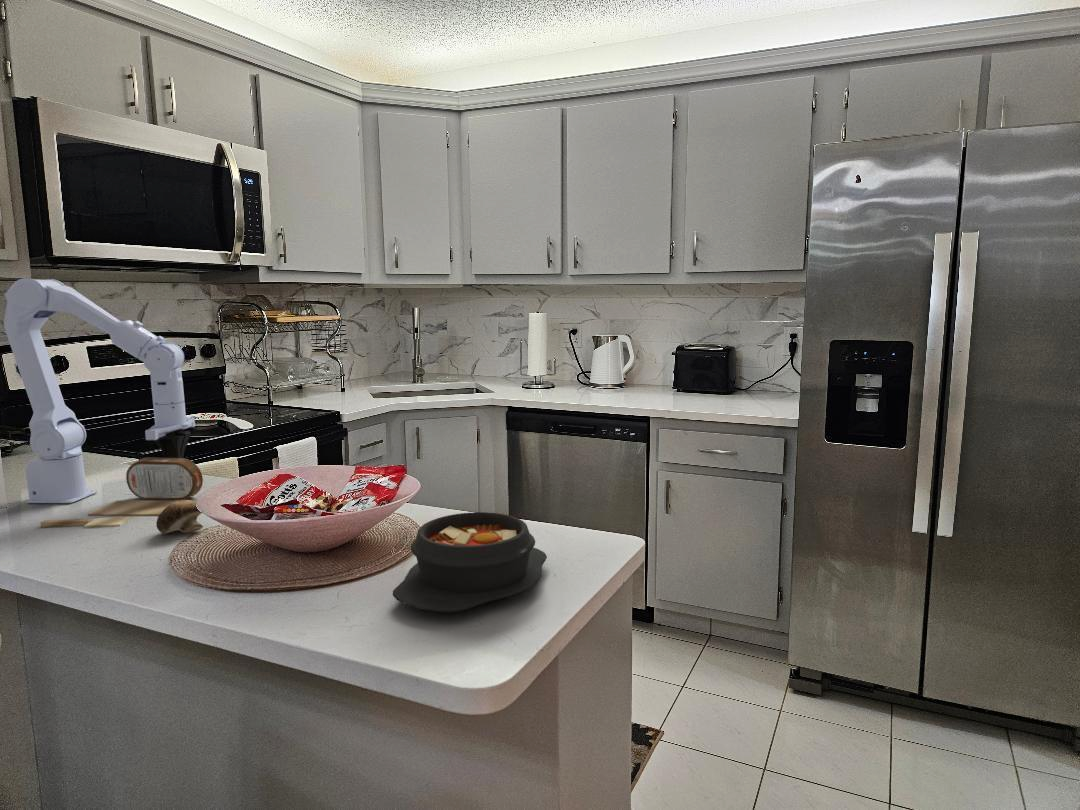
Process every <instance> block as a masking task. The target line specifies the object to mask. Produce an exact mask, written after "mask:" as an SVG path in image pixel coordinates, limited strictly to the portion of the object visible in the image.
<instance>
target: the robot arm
mask: <svg viewBox="0 0 1080 810" xmlns="http://www.w3.org/2000/svg"><path fill="white" fill-rule="evenodd" d="M4 296H5V299H6V301H7V302H6V303H7V304H6V309H5V312H4V314H5V315H4V320H3V327H4V330H5V333H6V336H7V339H8V342H9V346H10V348H11V351H12V354H13V356H14V359H15V362H16V366H17V368H18V371H19V375H20V377H21V380H22V383H23V385H24V389H25V391H26V394H27V397H28V399H29V400H28V401H29V402H30V406H31V409H32V412H33V413H32V417H31V419H30V421H29V423H28V427H29V430H30V438H29V445H30V448H31V450H32V451H33V453H35V454H36V456H34V457H31V459H30V460H29V461H28V462H27V465H26V469H25V476H26V484H27V485H26V486H27V490H28V491H27V492H28V498H29V499H28V500H26V501H25V503H26V504H72V503H74V502H77V501H79V500H82V499H84V498H87V497H89V496H92V495H94V494H97V493H98V490H97V489H96V490H95V489H93V490H92V489H88V490H87V481H86V476H85V475H86V474H85V466H84V458H83V457H84V456H83V449H82V446H83V444H85V442H86V439H87V431H86V428H85V426H84V425H83V424H82V423H81V422H80V421H79V420H78V418H77V417H76V414H75V412H74V411H73V410H72V409H70V408H69V407H68V406H67V405H66V404H65V401H64V398H63V395H62V392H61V388H60V386H59V383H58V380H57V377H56V373H55V371H54V368H53V365H52V362H51V358H50V356H49V353H48V350H47V348H46V344H45V341H44V338H43V335H42V331H41V329H42V327H43V326H44V325H45V324H46V322H47V321H48V320H49V319H50V318H51V317H52V316H53V315H55V314H56V313H58V312H59V313H60V312H61V313H70V314H72V315H74V316H76V317H77V318H79V319H81V320H83V321H85V322H86V323H89V324H90V325H92V326H94V327H96V328H97V329H100V330H101V331H103V332H104V333H107V334H108V335H109V337H110V340H111V343H112V344H113V345H114V346H116V347H117V348H119V349H121V350H123V351H124V352H126V353H128V354H129V355H131V356H133V357H134V358H136V359H138V360H139V361H141V362H142V363H143V365H144V367H145V368H146V369H147V371H149V372H150V373H149V374H150V383H151V384H150V385H151V395H152V405H153V415H154V416H153V417H154V425H152V426H151V427H150V428H148V429H145V431H144V432H145V434H144V435H145V441H154V442H155V444H156V445H157V446H158V447H159V450H161V452H162V455H163V458H184V456H185V455H184V454H185V449H186V447H187V444H188V442H189V439H190V437H191V431H189V430H186V429H189V428H194V427H196V421H195V417H187V415H186V403H185V393H184V392H185V391H184V381H183V377H182V376H183V375H182V374H183V373H182V366H183V364H184V362H185V353H184V351H183V350H182V348H181V347H180V346H178V344H177V343H176V342H174V341H173V342H171V341H165V337H163V336H161V335H158V336H157V335H156V334H154V333H152V332H150V330H147V329H146V328H144V324H143V323H142V322H140V321H138V320H136V321H133V320H131V319H126V320H120V319H118V318H117V317H115V316H114V315H112V314H111V313H109V312H108V311H106V310H104V309H103V308H102V307H100V306H98V305H97V304H96V303H95V302H93V301H91V299H89V298H87V297H86V296H84V295H82V294H81V293H80V292H78V291H77V290H75V289H74V287H71V286H68V285H65V284H64V283H63V282H61V281H59V280H57V279H53V278H49V279H37V278H36V279H35V278H29V277H23V278H20V279H18V280H16V281H14V283H13V284H11V286H10V287H9V288H8V289H7V291H6V292H5V294H4ZM184 430H185V431H184Z"/></svg>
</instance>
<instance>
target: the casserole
mask: <svg viewBox="0 0 1080 810" xmlns="http://www.w3.org/2000/svg"><path fill="white" fill-rule="evenodd" d="M535 545H536V539H535V537H534V535H532V533H530V530H529V527H528V525H527V523H526V522H525V521H524V520H522V519H520V518H518V517H516V516H512V515H508V514H504V513H496V512H480V511H479V512H477V511H476V512H475V511H474V512H464V513H463V512H462V513H454V514H449V515H444V516H440V517H438V518H437V517H436V518H435V519H432V520H430V521H428V522H425V523H423V524H422V525H421V526H420V527H419V528H418V531H417V533H416V537H415V539H414V540H413V541H412V543H411V545H410V551H411V553H412V555H414V556H415V557H416V561H417V563H415V564H414V565H413V566H412V567H411V568H410V569H409V570H408V572H407V573H406V576H405V578H404V579H403V580H402V582H400V583H399V584H398V585H397V586H396V587H395V588H394V589H393V590H392V596H393V598H394V599H395V600H396V601H398V602H400V603H402V604H403V605H405V606H409V607H412V608H414V609H418V610H419V609H420V610H423V611H428V612H436V613H437V612H438V613H457V612H464V611H466V610H468V609H472V608H474V607H477V606H480V605H483V604H484V603H489V602H493V601H497V600H500V599H501V600H502V599H505V598H508V597H513V596H515V595H517V594H521V593H523V592H524V591H526V590H528V589H530V588H532V587H533V586H534V585H535V584H536V583H538V582H539V580H540V578H541V577H542V571H543V565H544V564H545V562H546V560H547V558H548V556H547V554H546V552H544V551H543V550H541V549H539V548H536V547H535Z"/></svg>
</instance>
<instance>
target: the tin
mask: <svg viewBox="0 0 1080 810" xmlns="http://www.w3.org/2000/svg"><path fill="white" fill-rule="evenodd" d="M125 475H126V476H125V478H126V484H127V487H128V489H129V490H130V492H131V493H132V494H133V496H136V497H137V498H140V499H142V500H146V501H178V500H189V499H190V498H191V497H194V496H195V495H197V494H198V493H199V492H200V491H201V489H202V487H203V483H204V479H203V478H204V477H203V474H202V472H201V469H200V467H198V465H197V464H196V463H195V462H193V461H192V460H190V459H187V458H184V457H183V458H165V457H154V456H152V457H151V456H150V457H149V456H147V457H142V458H140V459H138V461H136V462H133V463H132V464H131V465H130V466H128V468H127V471H126V474H125Z"/></svg>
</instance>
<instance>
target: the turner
mask: <svg viewBox="0 0 1080 810" xmlns="http://www.w3.org/2000/svg"><path fill="white" fill-rule="evenodd" d="M131 519H132V516H118V517H117V516H116V517H115V516H111V517H95V518H94V519H92V518H73V519H72V518H71V519H49V520H42V521H41V522H40V528H45V527H48V528H49V527H68V526H69V527H71V526H83V528H84V529H85V528H86V529H89V528H91V529H92V528H109V527H110V528H112V527H121V526H123V525H124V524H125V523H127V522H128V521H130V520H131Z"/></svg>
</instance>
